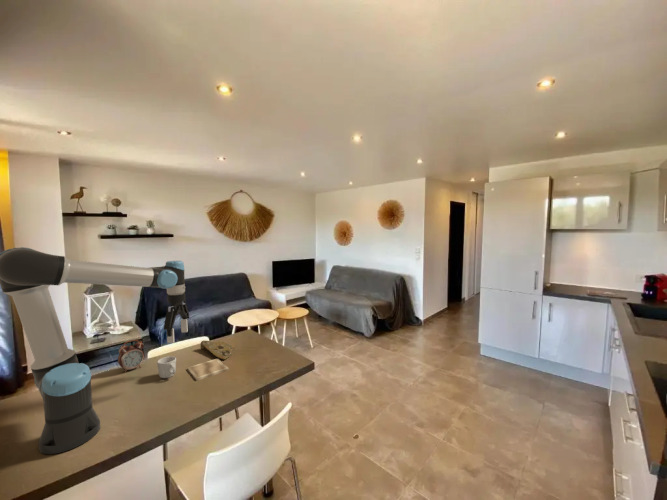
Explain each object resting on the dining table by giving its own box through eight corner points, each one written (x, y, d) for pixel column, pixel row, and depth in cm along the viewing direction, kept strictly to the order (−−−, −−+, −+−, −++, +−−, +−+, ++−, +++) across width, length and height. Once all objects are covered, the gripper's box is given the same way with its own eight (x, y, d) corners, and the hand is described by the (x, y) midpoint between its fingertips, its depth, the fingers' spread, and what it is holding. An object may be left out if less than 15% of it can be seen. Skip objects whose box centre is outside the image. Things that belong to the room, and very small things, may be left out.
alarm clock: (121, 375, 136) (119, 345, 135) (117, 372, 139) (115, 342, 138) (146, 366, 145) (144, 338, 144) (142, 363, 148) (141, 336, 147)
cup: (183, 375, 135) (182, 359, 135) (166, 383, 128) (165, 366, 128) (171, 370, 141) (170, 354, 140) (154, 377, 134) (153, 360, 134)
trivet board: (196, 381, 130) (196, 378, 130) (187, 369, 142) (187, 367, 141) (228, 370, 141) (228, 368, 140) (217, 360, 152) (217, 358, 152)
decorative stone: (198, 348, 165) (200, 340, 165) (223, 344, 176) (224, 336, 176) (217, 367, 148) (219, 357, 148) (243, 361, 160) (245, 352, 159)
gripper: (171, 299, 121) (173, 347, 122) (195, 288, 146) (196, 328, 147) (152, 299, 120) (155, 348, 122) (180, 288, 145) (182, 328, 146)
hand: (178, 337), depth 134 cm, fingers open, 13 cm apart
